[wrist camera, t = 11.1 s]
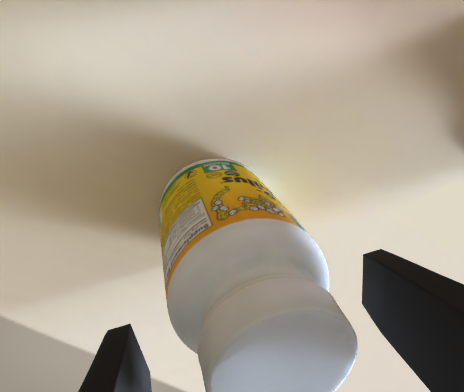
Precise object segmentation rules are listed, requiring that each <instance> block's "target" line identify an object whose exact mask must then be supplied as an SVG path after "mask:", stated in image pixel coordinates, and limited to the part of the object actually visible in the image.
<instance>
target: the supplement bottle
mask: <svg viewBox="0 0 464 392" xmlns="http://www.w3.org/2000/svg"><path fill="white" fill-rule="evenodd" d="M159 226H160V237H161V247H162V257H163V270H164V279H165V290H166V299H167V308H168V313H169V317H170V320H171V323H172V325H173V328H174V330H175V332H176V333H177V335H178V336H179V338H180V339H181V340H182V341H183V343H184V344H185V345H186V346H187V347H189V348H190V349H191V350H192V351H194V352H195V353H197V354H198V358H199V363H200V366H201V370H202V374H203V379H204V385H205V390H206V392H334V391H335V390H336V389H337V388H338V387H339V386H340V385H341V383H342V382H343V381H344V380H345V378H346V377H347V375H348V373H349V372H350V370H351V369H352V366H353V364H354V362H355V359H356V356H357V337H356V334H355V332H354V330H353V328H352V326H351V324H350V322H349V321H348V319H347V318H346V316H345V315H344V313H343V312H342V311H341V309H340V308H339V306H338V305H337V303H336V301H335V300H334V298H333V296H332V295H331V294H330V293H329V292H328V290H329V273H328V267H327V264H326V261H325V258H324V256H323V254H322V252H321V250H320V248H319V247H318V245H317V244H316V243H315V241H314V240H313V239H312V237H311V236H310V235H309V234H308V233H307V232H306V231H305V230H304V228H303V227H302V226H301V225H300V224H299V223H298V222H297V220H296V219H295V218H294V217H293V216H292V215H291V214H290V213H289V211H288V210H287V209H286V208H285V207H284V206H283V205H282V204H281V203H280V202H279V200H278V199H277V198H276V197H275V196H274V195H273V194H272V192H270V190H269V189H268V188H267V187H266V186H265V185H264V184H263V182H262V181H261V180H260V179H259V178H258V177H257V176H256V175H255V174H254V173H253V172H252V171H251V170H250V169H249V168H247V167H246V166H244V165H243V164H241V163H239V162H237V161H233V160H229V159H205V160H200V161H196V162H194V163H191V164H189V165H187V166H185V167H184V168H182V169H181V170H179V171H178V172H177V173H176V174H175V175H174V176H173V177H172V178H171V180H170V181H169V182H168V184H167V185H166V187H165V189H164V191H163V193H162V196H161V199H160V204H159Z"/></svg>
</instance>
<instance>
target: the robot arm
mask: <svg viewBox="0 0 464 392" xmlns="http://www.w3.org/2000/svg"><path fill="white" fill-rule="evenodd" d="M362 304H363V306H364V307H365V309H366V310H367V312H368V314H369V315H370V317H371V318H372V320H373V321H374V323H375V324H376V326H377V327H378V329H379V330H380V332H381V333H382V334H383V335H384V337H385V338H386V339H387V340H388V342H389V343H390V344H391V345H392V346H393V347H394V349H395V350H396V351H397V352H398V353H399V355H400V356H401V357H402V358H403V359H404V361H405V362H406V363H407V364H408V365H409V366H410V368H411V369H412V370H413V371H414V372H415V374H416V375H417V376H418V377H419V378H420V379H421V381H422V382H423V383H424V384H425V385H426V386H427V388H428V389H429V390H430V391H431V392H464V285H463V284H461V283H459V282H456V281H454V280H452V279H449V278H447V277H445V276H442V275H440V274H438V273H435V272H433V271H431V270H428V269H426V268H424V267H422V266H419V265H417V264H415V263H413V262H410V261H408V260H406V259H404V258H401V257H399V256H397V255H394V254H392V253H389V252H387V251H384V250H382V249H380V250H376V251H373V252H370V253H366V254H363V286H362ZM78 392H152V390H151V379H150V371H149V368H148V366H147V364H146V361H145V359H144V356H143V354H142V351H141V349H140V346H139V344H138V342H137V339H136V337H135V334H134V332H133V329H132V327H131V324H128V325H124V326H121V327H118V328H114V329H111V330H108V331H107V333H106V334H105V336H104V338H103V341H102V343H101V345H100V347H99V349H98V352H97V354H96V356H95V358H94V360H93V363H92V365H91V367H90V369H89V371H88V373H87V375H86V377H85V379H84V382H83V383H82V386H81V387H80V389H79V391H78Z"/></svg>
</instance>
